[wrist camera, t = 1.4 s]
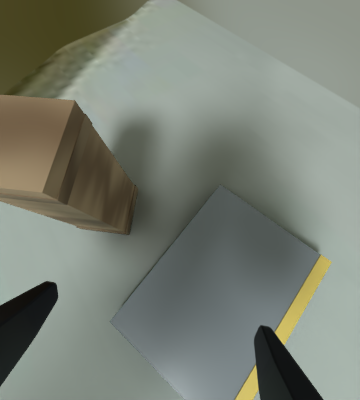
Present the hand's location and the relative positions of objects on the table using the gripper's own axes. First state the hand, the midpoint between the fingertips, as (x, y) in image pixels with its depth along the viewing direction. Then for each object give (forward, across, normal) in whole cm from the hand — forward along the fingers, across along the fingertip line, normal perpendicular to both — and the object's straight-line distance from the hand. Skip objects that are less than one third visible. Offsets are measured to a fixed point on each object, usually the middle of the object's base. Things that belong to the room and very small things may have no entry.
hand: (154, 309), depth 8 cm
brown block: (+13, +8, +3) cm, 15 cm away
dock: (+9, -5, +7) cm, 12 cm away
